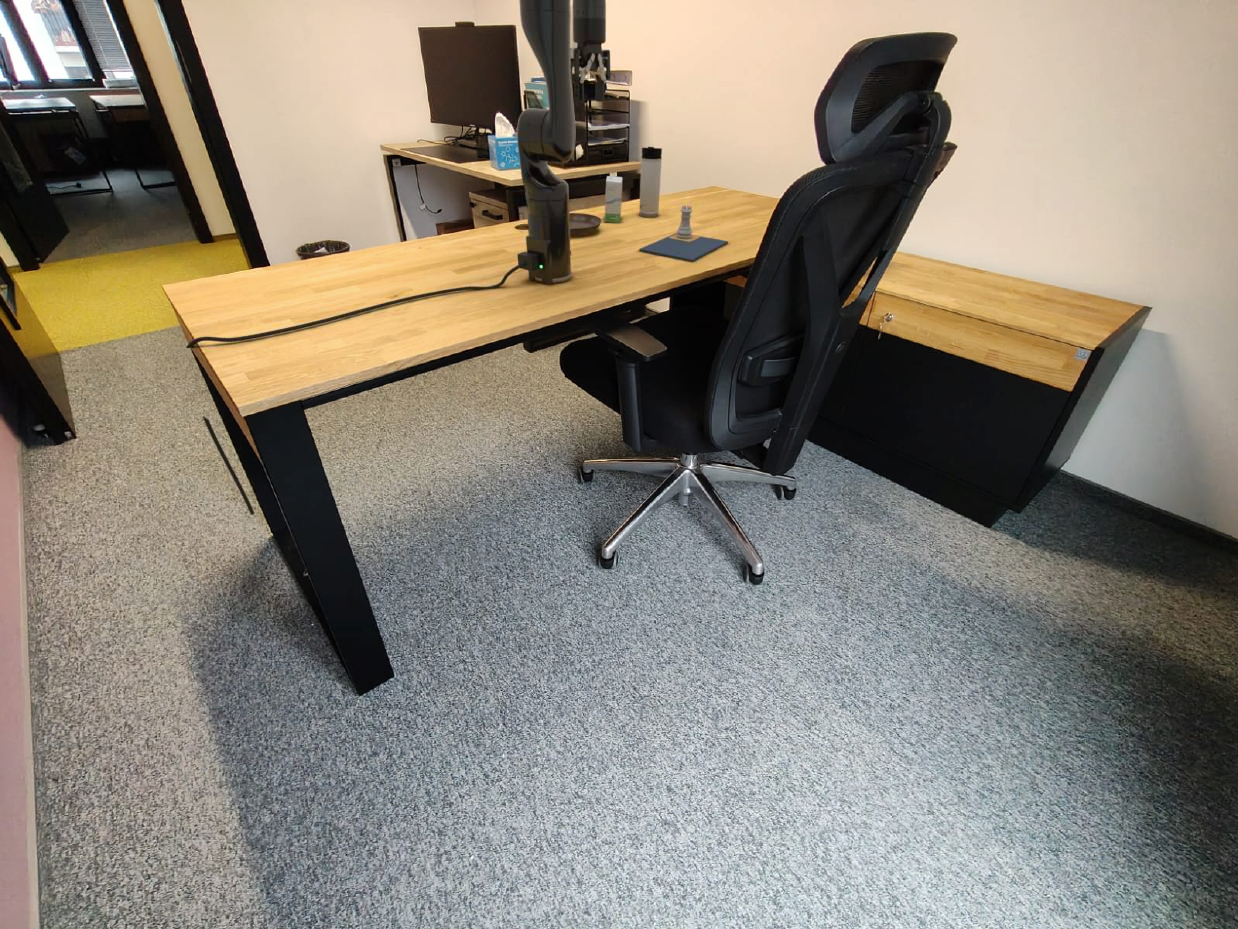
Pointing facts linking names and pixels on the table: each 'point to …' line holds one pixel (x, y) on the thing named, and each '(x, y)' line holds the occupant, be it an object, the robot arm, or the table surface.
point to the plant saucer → (583, 224)
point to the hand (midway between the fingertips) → (589, 101)
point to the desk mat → (684, 247)
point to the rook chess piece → (685, 223)
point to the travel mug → (650, 181)
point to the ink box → (613, 199)
